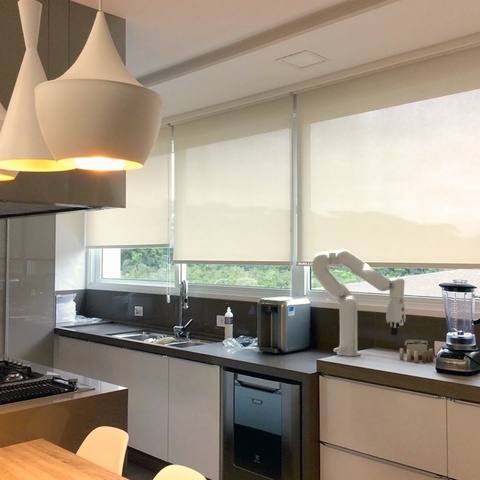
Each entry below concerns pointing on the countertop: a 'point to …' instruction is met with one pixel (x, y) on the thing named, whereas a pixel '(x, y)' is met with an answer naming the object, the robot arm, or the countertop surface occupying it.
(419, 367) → the countertop surface
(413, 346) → the food container
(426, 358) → the peg bay
